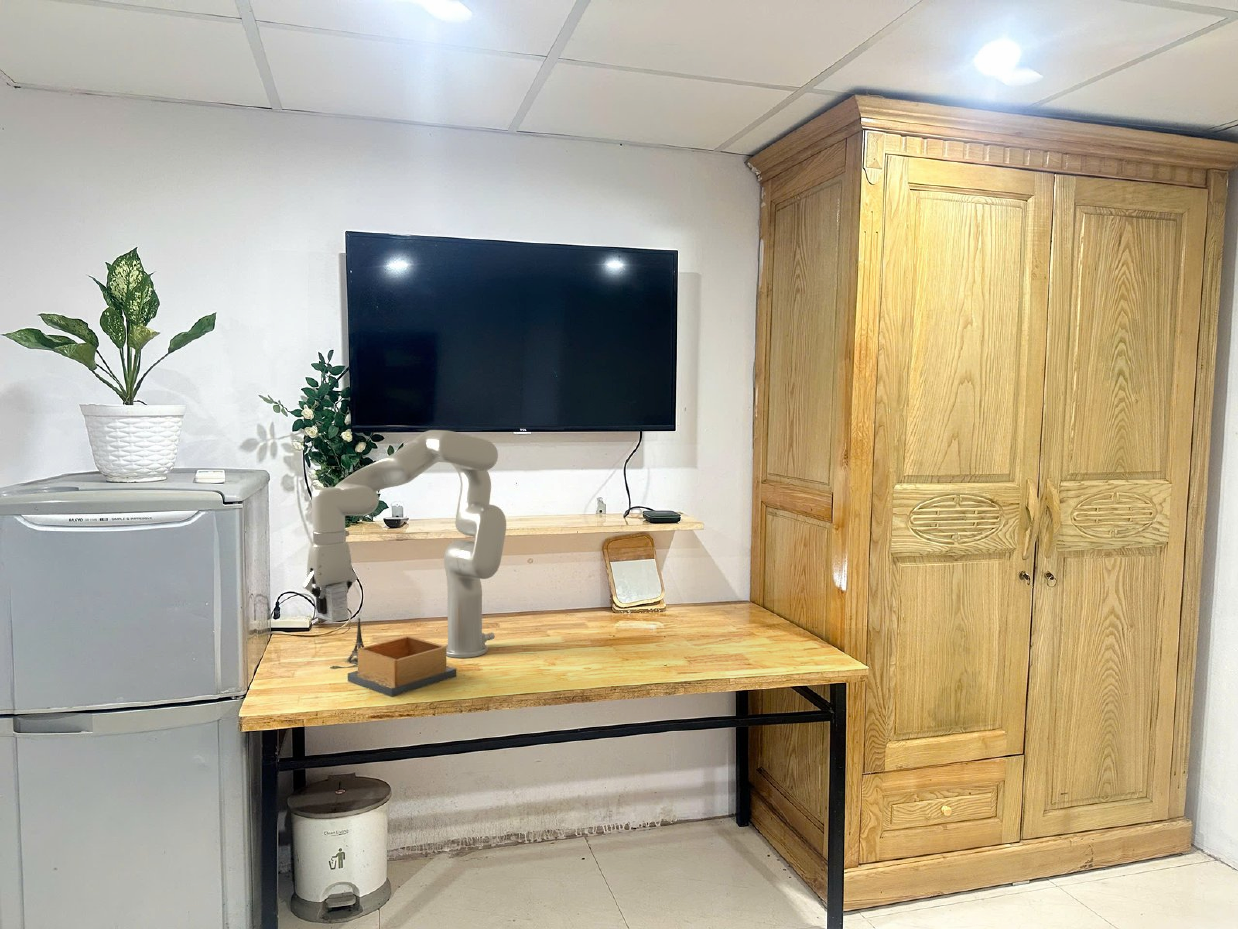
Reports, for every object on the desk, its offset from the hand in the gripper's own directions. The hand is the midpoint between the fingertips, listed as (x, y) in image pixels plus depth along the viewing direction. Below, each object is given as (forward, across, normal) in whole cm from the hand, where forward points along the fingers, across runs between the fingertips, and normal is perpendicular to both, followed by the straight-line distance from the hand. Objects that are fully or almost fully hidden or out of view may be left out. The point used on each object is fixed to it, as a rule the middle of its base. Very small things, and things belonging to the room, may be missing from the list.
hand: (331, 610), depth 212 cm
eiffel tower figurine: (+20, -15, -12) cm, 27 cm away
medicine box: (+2, 0, 0) cm, 2 cm away
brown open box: (+19, -14, +9) cm, 25 cm away
